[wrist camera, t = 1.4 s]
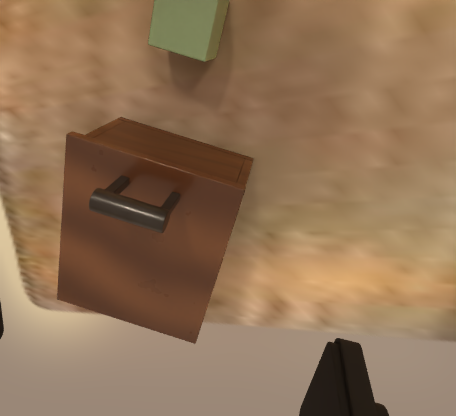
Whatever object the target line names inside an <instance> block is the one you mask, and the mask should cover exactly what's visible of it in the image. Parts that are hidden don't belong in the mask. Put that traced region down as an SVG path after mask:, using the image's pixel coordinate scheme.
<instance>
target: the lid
mask: <svg viewBox="0 0 456 416" xmlns="http://www.w3.org/2000/svg"><path fill="white" fill-rule="evenodd" d="M245 188H246V186H245V185H241V184H238V183H235V182H232V181H229V180H225V179H222V178H219V177H216V176H213V175H210V174H206V173H203V172H200V171H197V170H194V169H190V168H187V167H184V166H181V165H178V164H174V163H171V162H168V161H165V160H162V159H158V158H155V157H152V156H149V155H146V154H143V153H139V152H136V151H133V150H130V149H127V148H123V147H120V146H117V145H114V144H111V143H107V142H104V141H101V140H98V139H95V138H91V137H88V136H85V135H82V134H79V133H76V132H70V133H68V134H67V135H66V153H65V170H64V188H63V205H62V223H61V241H60V258H59V276H58V293H57V299H58V300H61V301H64V302H67V303H70V304H73V305H77V306H80V307H83V308H86V309H89V310H92V311H95V312H98V313H101V314H104V315H108V316H111V317H114V318H117V319H120V320H123V321H126V322H129V323H133V324H135V325H139V326H142V327H145V328H148V329H151V330H154V331H157V332H160V333H163V334H167V335H170V336H173V337H176V338H179V339H182V340H185V341H189V342H191V343H196V341H197V337H198V334H199V331H200V328H201V325H202V322H203V319H204V316H205V313H206V310H207V306H208V303H209V300H210V297H211V294H212V291H213V288H214V285H215V282H216V279H217V275H218V272H219V269H220V266H221V263H222V260H223V257H224V254H225V251H226V247H227V244H228V241H229V238H230V235H231V232H232V229H233V226H234V223H235V220H236V216H237V213H238V210H239V207H240V204H241V201H242V198H243V195H244V192H245Z"/></svg>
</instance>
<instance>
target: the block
mask: <svg viewBox="0 0 456 416" xmlns="http://www.w3.org/2000/svg"><path fill="white" fill-rule="evenodd" d="M228 4H229V0H154V7H153V13H152V20H151V27H150V34H149V40H148V44H149V45H151V46H154V47H157V48H161V49H164V50H167V51H170V52H174V53H177V54H180V55H183V56H187V57H190V58H193V59H196V60H200V61H203V62H206V61H209V60H212V59H215V58H216V56H217V51H218V47H219V43H220V39H221V34H222V30H223V26H224V21H225V17H226V13H227V9H228Z"/></svg>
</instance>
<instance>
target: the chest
mask: <svg viewBox="0 0 456 416" xmlns="http://www.w3.org/2000/svg"><path fill="white" fill-rule="evenodd" d="M85 136H88V137H91V138H95V139H98V140H101V141H104V142H107V143H111V144H114V145H117V146H120V147H123V148H127V149H130V150H133V151H136V152H139V153H143V154H146V155H149V156H152V157H155V158H158V159H162V160H165V161H168V162H171V163H174V164H178V165H181V166H184V167H187V168H190V169H194V170H197V171H200V172H203V173H206V174H210V175H213V176H216V177H219V178H222V179H225V180H229V181H232V182H235V183H238V184H241V185H245V186H246V184H247V180H248V177H249V173H250V170H251V166H252V163H253V158H250V157H247V156H244V155H241V154H237V153H234V152H231V151H228V150H224V149H221V148H218V147H215V146H212V145H208V144H205V143H202V142H199V141H196V140H192V139H189V138H186V137H183V136H180V135H176V134H173V133H170V132H167V131H164V130H160V129H157V128H154V127H151V126H148V125H144V124H141V123H138V122H135V121H132V120H128V119H125V118H122V117H120V118H118V119H116V120H114V121H112V122H110V123H108V124H106V125H104V126H102V127H100V128H98V129H96V130H94V131H92V132H90V133H88V134H86V135H85Z"/></svg>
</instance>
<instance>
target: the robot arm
mask: <svg viewBox="0 0 456 416" xmlns="http://www.w3.org/2000/svg"><path fill="white" fill-rule="evenodd" d="M3 331H4V327H3V319H2V311H1V303H0V339H1V337H2V335H3ZM299 416H389V414H388V412H387V409H386V408H385V406H384V405H382V404H379V403H375V401H374V397H373V393H372V389H371V385H370V380H369V377H368V372H367V368H366V364H365V360H364V356H363V352H362V348H361V345H360V344H359V343H356V342H352V341H348V340H344V339H340V338H337V339H336V340H335V342H334V343H332V342H328V343H327V345H326V347H325V350H324V352H323V354H322V357H321V359H320V361H319V364H318V367H317V369H316V371H315V374H314V376H313V379H312V381H311V383H310V386H309V388H308V391H307V393H306V396H305V398H304V401H303V403H302V405H301V409H300V414H299Z"/></svg>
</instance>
